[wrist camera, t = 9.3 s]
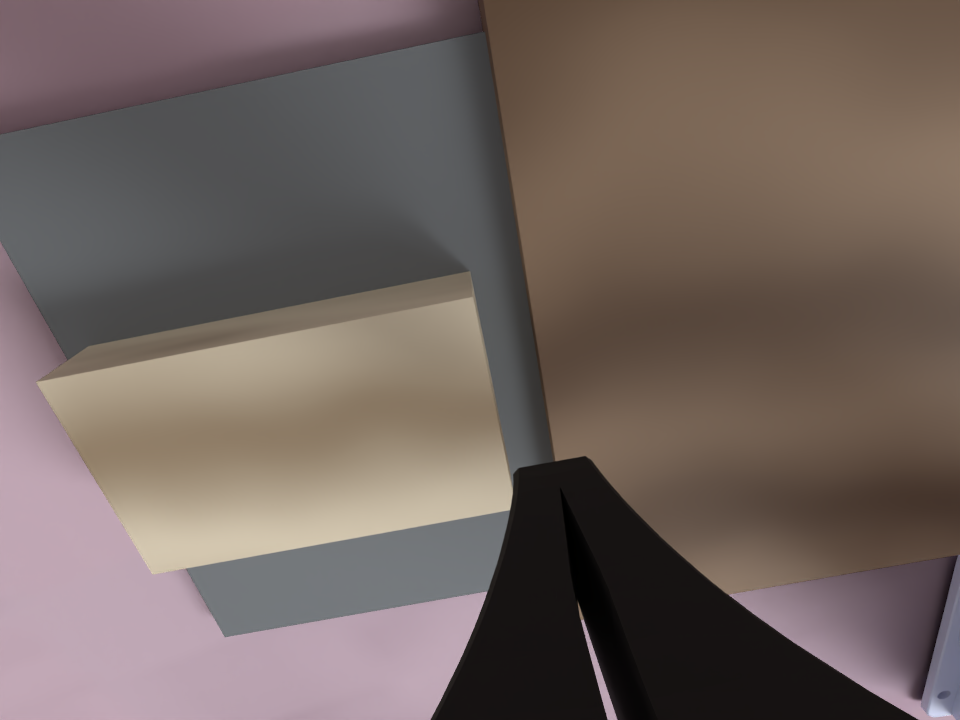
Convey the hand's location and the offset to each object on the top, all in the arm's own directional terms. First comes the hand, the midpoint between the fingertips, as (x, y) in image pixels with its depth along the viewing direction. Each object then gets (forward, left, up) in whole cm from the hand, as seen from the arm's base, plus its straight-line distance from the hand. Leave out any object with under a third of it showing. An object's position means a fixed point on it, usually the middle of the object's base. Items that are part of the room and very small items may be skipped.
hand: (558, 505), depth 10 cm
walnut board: (0, -7, -6) cm, 9 cm away
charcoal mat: (0, +6, -6) cm, 8 cm away
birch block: (0, +6, -6) cm, 8 cm away
